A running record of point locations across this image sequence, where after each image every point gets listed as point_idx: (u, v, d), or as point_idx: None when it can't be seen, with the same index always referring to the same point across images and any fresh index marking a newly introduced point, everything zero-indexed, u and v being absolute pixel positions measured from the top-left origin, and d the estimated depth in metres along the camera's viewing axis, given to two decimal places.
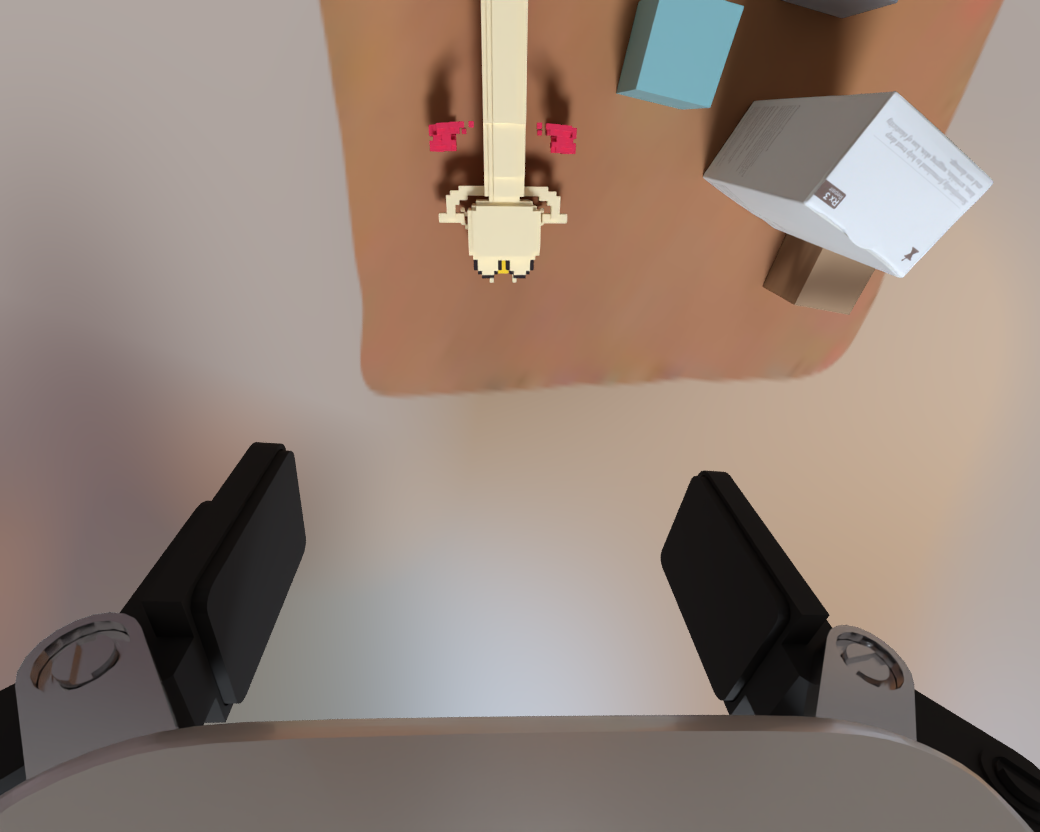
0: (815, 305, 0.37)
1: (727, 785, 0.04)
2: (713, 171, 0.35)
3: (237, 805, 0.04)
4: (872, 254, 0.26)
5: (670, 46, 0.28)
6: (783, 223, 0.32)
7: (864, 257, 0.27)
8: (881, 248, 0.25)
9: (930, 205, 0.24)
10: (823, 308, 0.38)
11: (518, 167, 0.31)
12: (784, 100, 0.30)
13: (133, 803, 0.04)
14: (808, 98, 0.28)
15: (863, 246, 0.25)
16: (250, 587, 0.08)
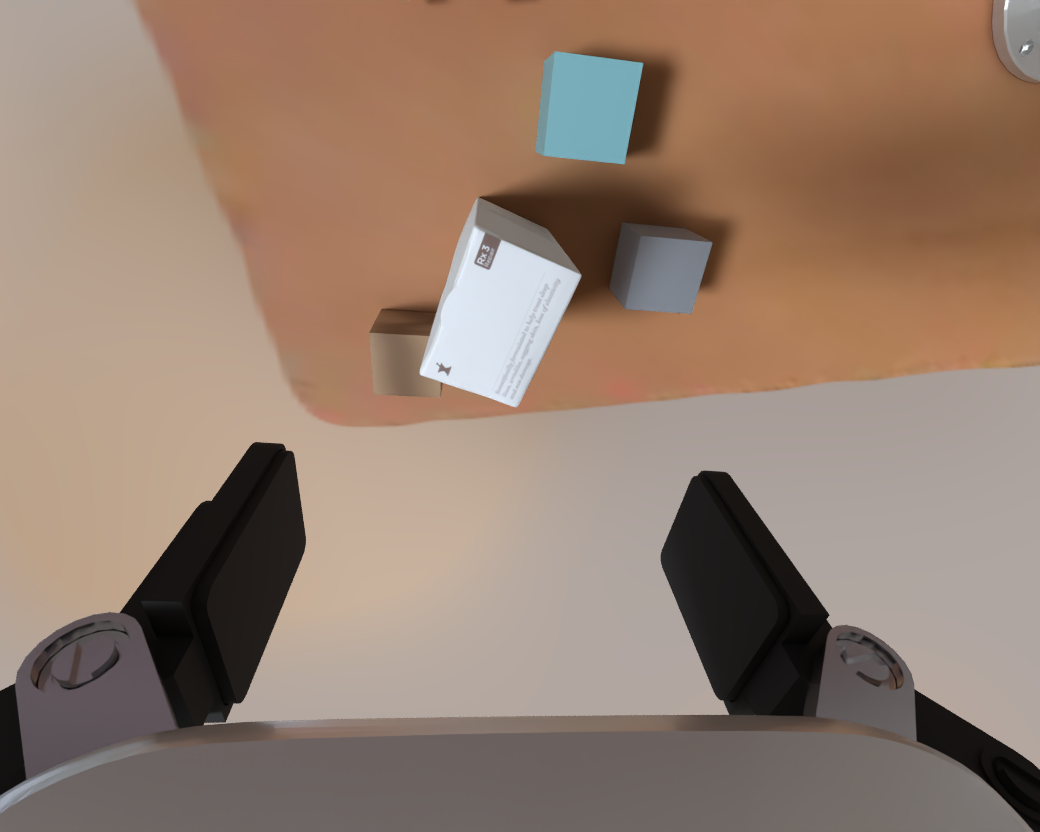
0: (374, 355, 0.34)
1: (727, 786, 0.04)
2: (484, 201, 0.32)
3: (237, 805, 0.04)
4: (436, 331, 0.24)
5: (593, 87, 0.27)
6: None
7: (431, 336, 0.25)
8: (444, 334, 0.23)
9: (491, 362, 0.24)
10: (373, 365, 0.35)
11: None
12: (554, 238, 0.31)
13: (134, 803, 0.04)
14: (560, 246, 0.29)
15: (442, 315, 0.23)
16: (250, 587, 0.08)
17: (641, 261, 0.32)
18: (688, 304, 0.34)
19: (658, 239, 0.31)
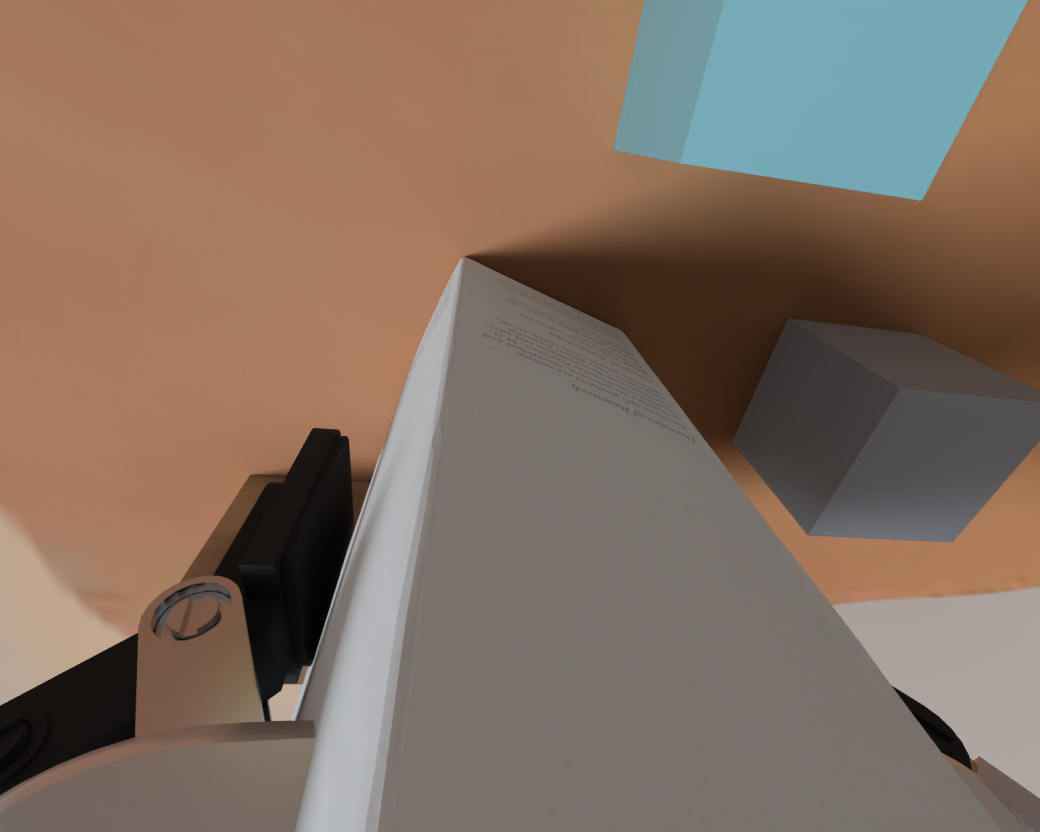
0: None
1: None
2: (479, 273, 0.13)
3: (237, 805, 0.04)
4: None
5: None
6: None
7: None
8: None
9: None
10: None
11: None
12: (667, 392, 0.11)
13: (134, 802, 0.04)
14: (717, 458, 0.09)
15: None
16: (319, 559, 0.09)
17: (881, 444, 0.12)
18: (954, 526, 0.14)
19: (940, 397, 0.12)
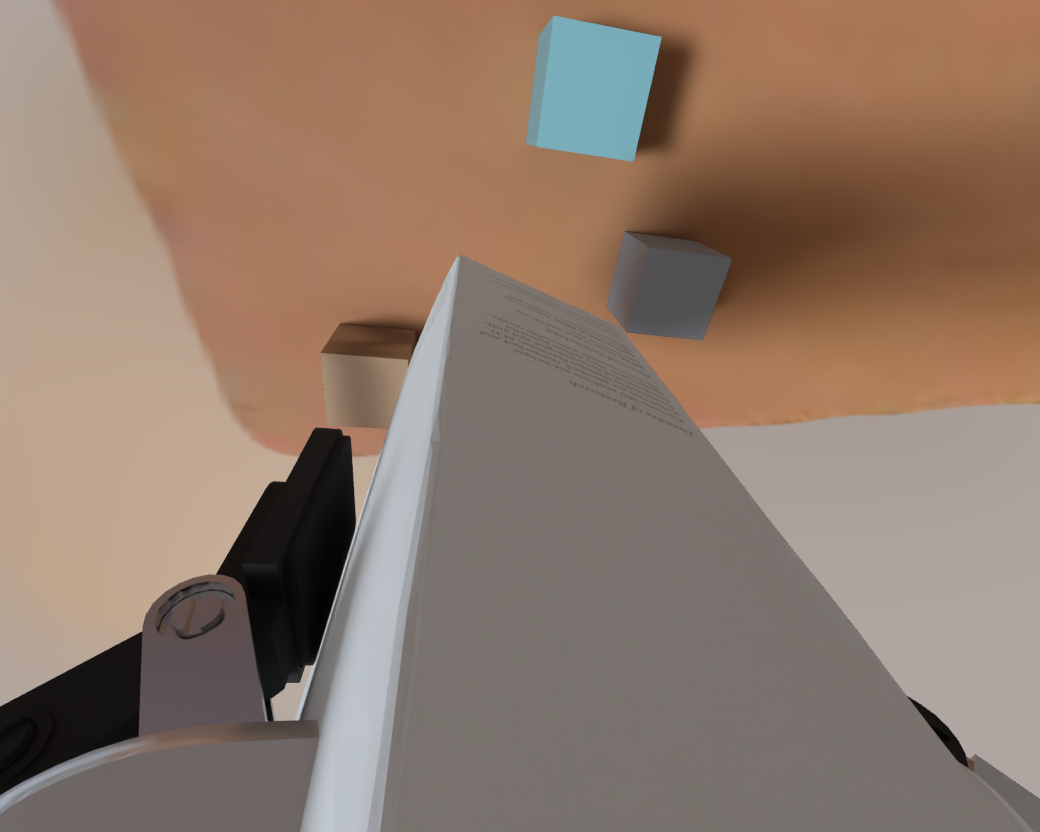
0: (327, 380, 0.28)
1: None
2: (475, 271, 0.13)
3: (237, 805, 0.04)
4: None
5: (599, 64, 0.22)
6: None
7: None
8: None
9: None
10: (326, 391, 0.29)
11: None
12: (665, 387, 0.11)
13: (134, 803, 0.04)
14: (715, 451, 0.09)
15: None
16: (321, 558, 0.09)
17: (649, 277, 0.27)
18: (700, 329, 0.29)
19: (670, 252, 0.26)
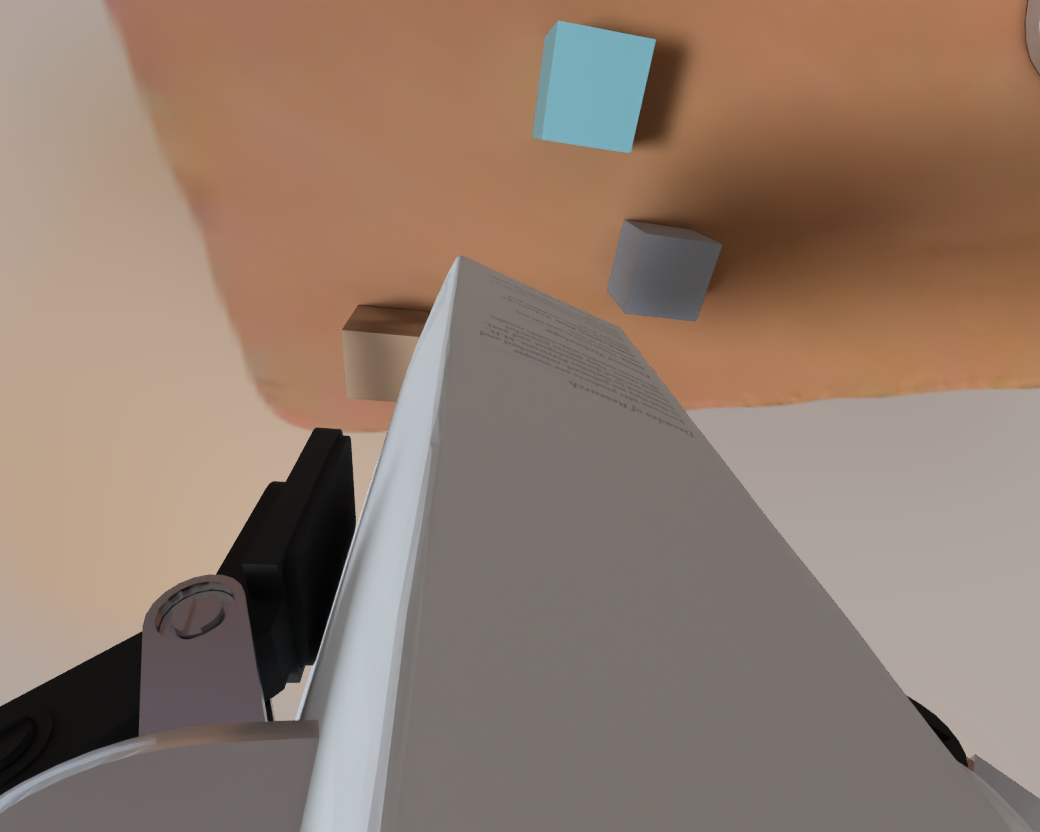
0: (347, 355, 0.31)
1: None
2: (475, 271, 0.13)
3: (237, 805, 0.04)
4: None
5: (599, 64, 0.24)
6: None
7: None
8: None
9: None
10: (346, 366, 0.31)
11: None
12: (665, 387, 0.11)
13: (134, 802, 0.04)
14: (715, 452, 0.09)
15: None
16: (321, 558, 0.09)
17: (645, 262, 0.29)
18: (693, 311, 0.31)
19: (664, 238, 0.29)
